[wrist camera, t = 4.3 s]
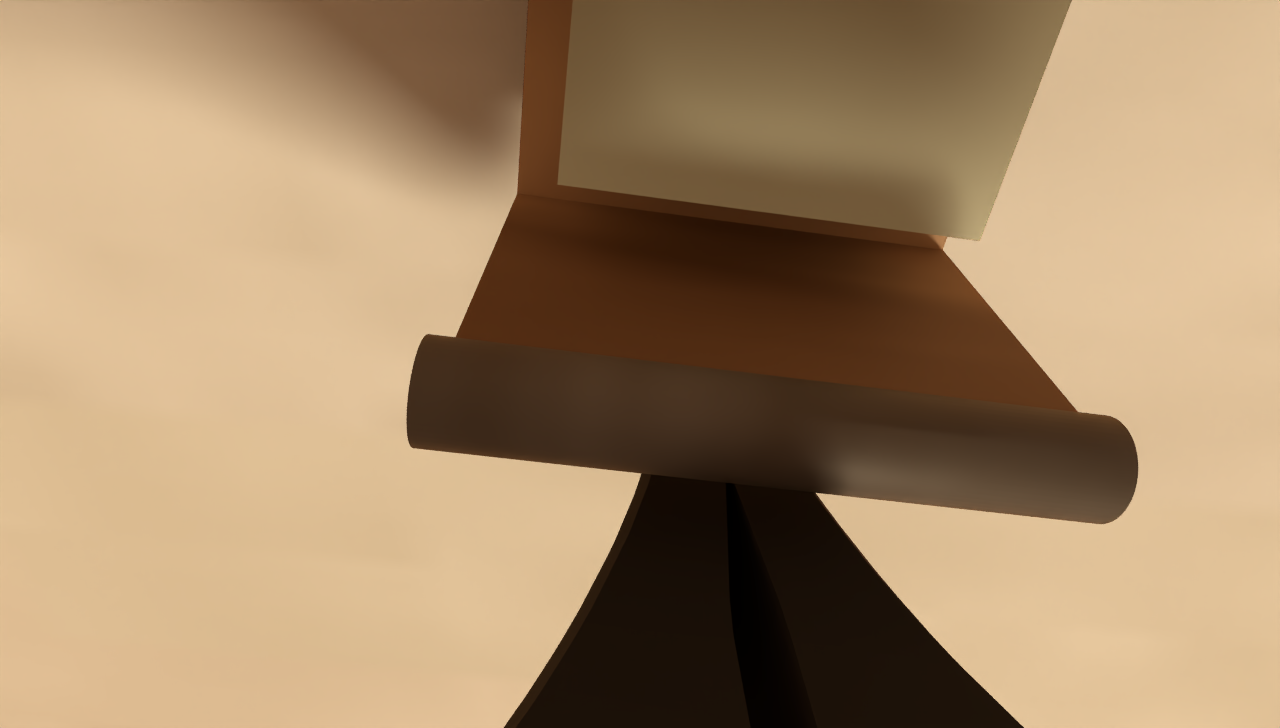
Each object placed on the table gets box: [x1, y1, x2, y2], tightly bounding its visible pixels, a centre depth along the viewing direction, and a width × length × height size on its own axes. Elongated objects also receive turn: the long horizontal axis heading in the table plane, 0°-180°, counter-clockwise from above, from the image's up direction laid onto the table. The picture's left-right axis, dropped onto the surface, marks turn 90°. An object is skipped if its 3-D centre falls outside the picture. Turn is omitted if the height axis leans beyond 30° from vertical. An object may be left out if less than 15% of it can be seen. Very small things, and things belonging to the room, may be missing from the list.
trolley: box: [407, 0, 1138, 524], centre depth 7 cm, size 6×6×7 cm
